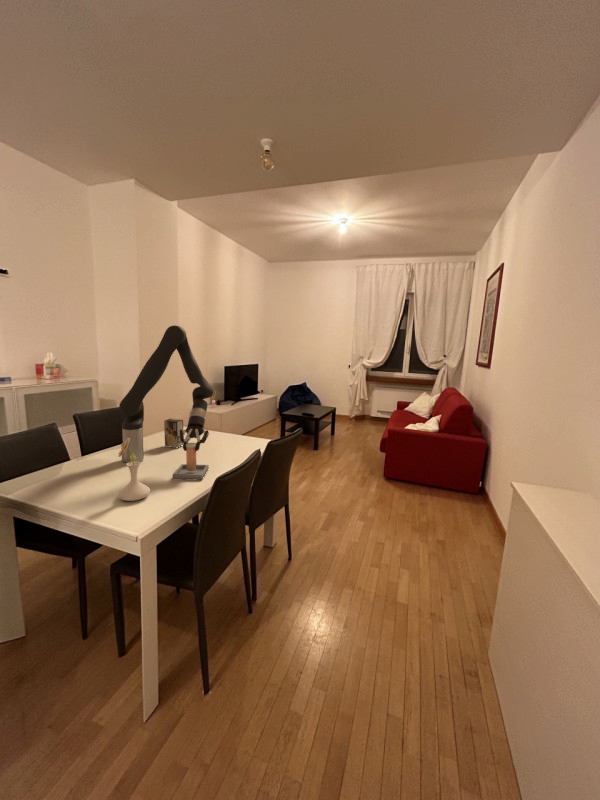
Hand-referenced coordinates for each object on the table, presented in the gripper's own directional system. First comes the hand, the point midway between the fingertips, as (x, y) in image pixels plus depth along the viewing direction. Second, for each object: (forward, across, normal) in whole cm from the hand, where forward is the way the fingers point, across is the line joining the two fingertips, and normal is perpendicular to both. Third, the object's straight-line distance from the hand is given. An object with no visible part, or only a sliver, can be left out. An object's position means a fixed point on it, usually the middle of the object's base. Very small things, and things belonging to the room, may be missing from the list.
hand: (190, 450), depth 151 cm
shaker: (+6, 0, +8) cm, 10 cm away
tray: (+8, 0, +9) cm, 12 cm away
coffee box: (-22, -22, +40) cm, 51 cm away
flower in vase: (+26, -15, -8) cm, 31 cm away
